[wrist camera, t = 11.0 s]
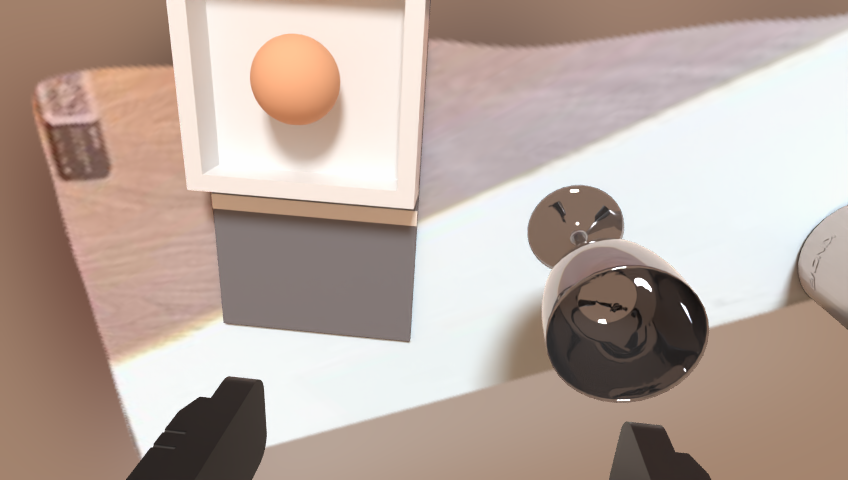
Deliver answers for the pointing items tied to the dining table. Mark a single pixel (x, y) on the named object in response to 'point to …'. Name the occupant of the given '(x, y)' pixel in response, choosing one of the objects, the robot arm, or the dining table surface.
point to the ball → (295, 79)
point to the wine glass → (611, 302)
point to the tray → (316, 142)
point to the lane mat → (316, 264)
